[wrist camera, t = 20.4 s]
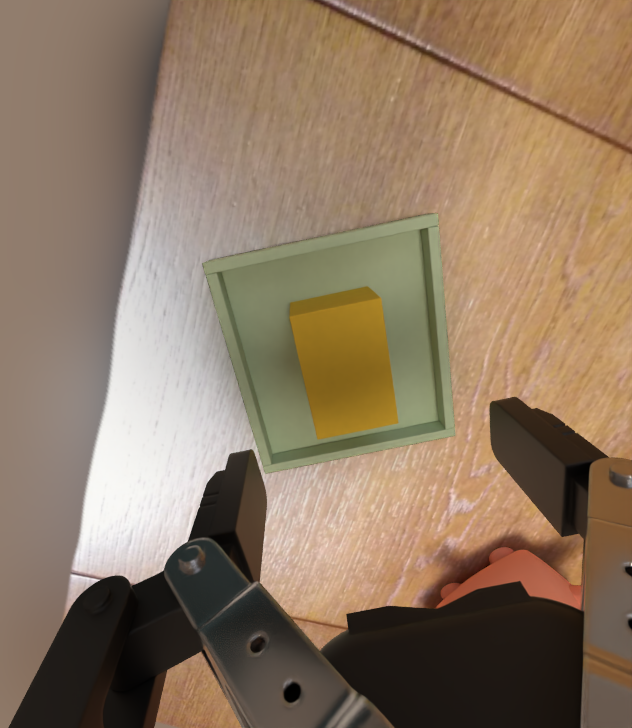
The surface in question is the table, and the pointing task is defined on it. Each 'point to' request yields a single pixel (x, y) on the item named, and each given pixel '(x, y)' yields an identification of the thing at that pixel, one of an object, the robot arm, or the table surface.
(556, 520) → the robot arm
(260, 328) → the tray
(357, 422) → the sponge
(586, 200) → the table surface
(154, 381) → the table surface
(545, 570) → the teapot
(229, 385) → the table surface
